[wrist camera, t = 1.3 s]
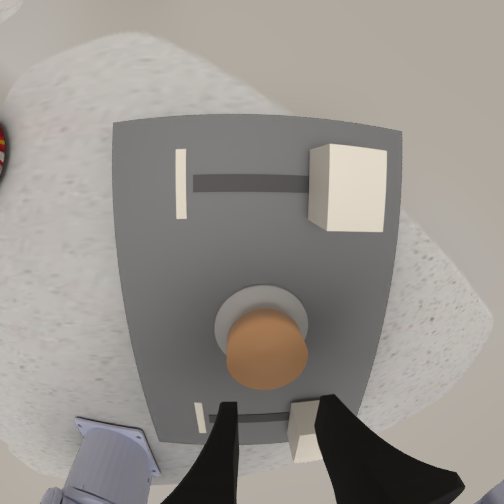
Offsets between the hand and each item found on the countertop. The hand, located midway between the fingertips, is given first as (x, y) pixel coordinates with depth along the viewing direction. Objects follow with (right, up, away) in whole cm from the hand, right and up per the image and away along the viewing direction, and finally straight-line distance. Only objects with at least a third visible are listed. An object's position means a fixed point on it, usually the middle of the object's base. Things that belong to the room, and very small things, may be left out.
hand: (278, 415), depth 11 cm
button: (0, +2, +6) cm, 6 cm away
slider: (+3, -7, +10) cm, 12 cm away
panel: (-1, +2, +9) cm, 9 cm away
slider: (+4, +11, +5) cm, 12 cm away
